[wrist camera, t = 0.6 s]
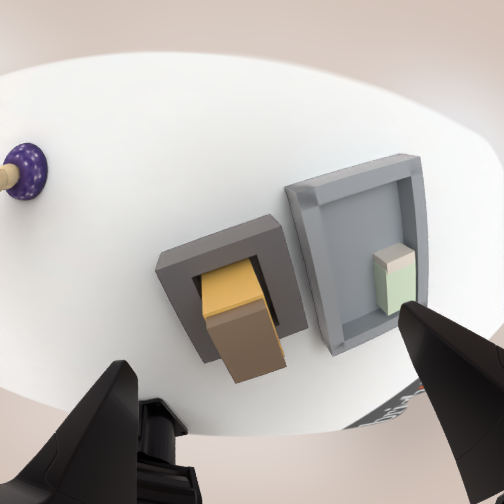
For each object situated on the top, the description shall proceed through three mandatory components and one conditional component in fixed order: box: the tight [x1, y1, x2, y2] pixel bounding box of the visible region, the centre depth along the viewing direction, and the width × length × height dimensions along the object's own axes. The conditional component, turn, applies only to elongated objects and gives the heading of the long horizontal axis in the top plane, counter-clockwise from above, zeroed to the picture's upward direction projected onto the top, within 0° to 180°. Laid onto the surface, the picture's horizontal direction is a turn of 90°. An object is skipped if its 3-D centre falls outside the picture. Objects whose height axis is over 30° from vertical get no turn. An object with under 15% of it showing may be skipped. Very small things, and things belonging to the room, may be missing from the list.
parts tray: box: [285, 154, 429, 356], centre depth 21 cm, size 14×10×2 cm
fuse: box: [373, 242, 416, 316], centre depth 22 cm, size 5×3×2 cm, turn 17°
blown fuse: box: [202, 257, 287, 384], centre depth 17 cm, size 5×3×7 cm
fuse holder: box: [155, 214, 308, 364], centre depth 20 cm, size 8×8×3 cm
